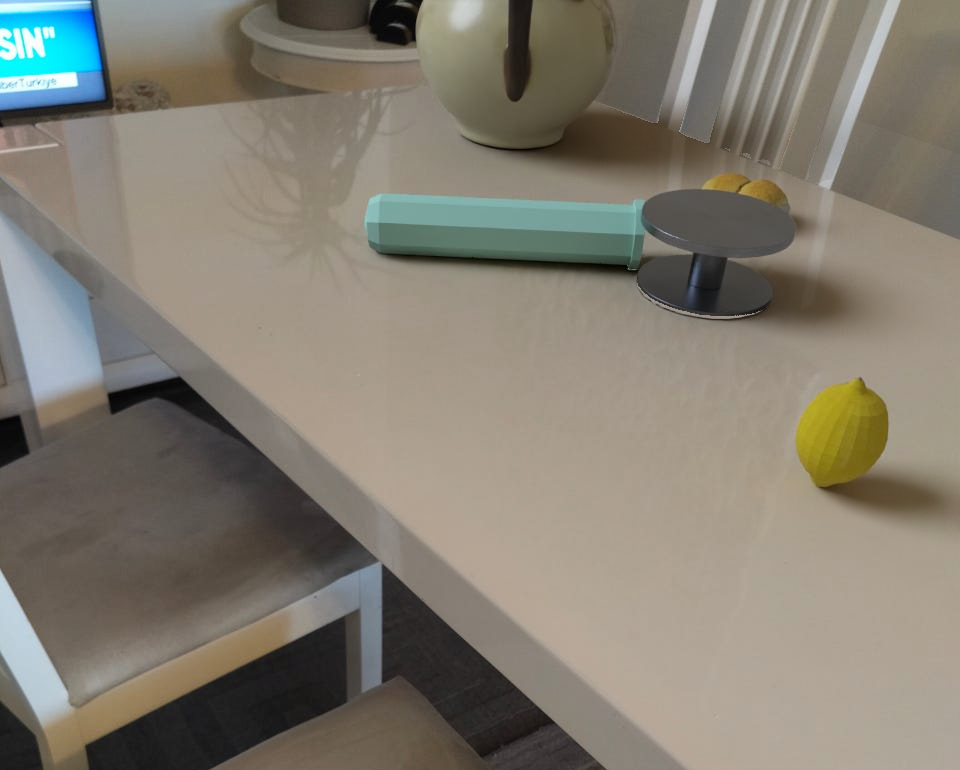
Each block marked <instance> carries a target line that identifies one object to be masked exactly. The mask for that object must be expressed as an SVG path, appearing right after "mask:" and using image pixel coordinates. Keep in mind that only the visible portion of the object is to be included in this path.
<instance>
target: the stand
mask: <svg viewBox="0 0 960 770" xmlns="http://www.w3.org/2000/svg"><path fill="white" fill-rule="evenodd" d="M641 223H642V225H643V227H644V228H645V232H647V233H648V234H650V235H651V236H652V237H654V238H655V239H656V240H659V241H660V242H663V243H664V244H667V245H669V246H671V247H674V248H677V249H680V250H683V251H686V252H691V253H692V254H673V255H666V256H661V257H657V258H654V259H651V260H649V261H647V262H646V263H644V264H643V265H642V266H641V267H640V268H638V270H637V274H636V279H637V283H638V286H639V287H640V288H641V290H642V291H643V292H644V293H645V294H647V295H648V296H649V297H650V298H652V299H654V300H655V301H658V302H659V303H662V304H664V305H667V306H669V307H672V308H675V309H678V310H682V311H687V312H690V313H695V314H699V315H710V316H735V315H736V316H737V315H738V316H739V315H745V314H746V315H747V314H752V313H756V312H758V311H761V310H763V309H764V310H766V309H767V308H768V307H769V305H770V304H771V301H772V300H773V299H772V298H773V294H774V290H773V289H774V288H773V286H772V284H771V283H770V281H769V280H768V279H767V278H766V277H765V276H764V275H762V274H761V273H759V272H758V271H756V270H755V269H753V268H751V267H749V266H747V265H745V264H741V263H739V262H736V261H733V260H729V259H749V258H751V259H752V258H760V257H761V258H762V257H767V256H771V255H775V254H777V253H780V252H782V251H784V250H786V249H787V248H789V247H790V246H791V245H792V243H793V242H794V239H795V235H796V231H797V224H796V222H795V220H794V219H793V217H792V216H791V215H790V213H789V214H788V213H786V212H785V211H783V210H782V209H780V208H779V207H777V206H775V205H773V204H771V203H768V202H766V201H763V200H760V199H757V198H754V197H751V196H747V195H743V194H739V193H734V192H728V191H720V190H710V189H701V188H686V189H676V190H670V191H664V192H661V193H658V194H656V195H653V196H652V197H650V198H648V199H647V200H646V201H644V205H643V207H642V212H641ZM767 306H768V307H767ZM766 307H767V308H766ZM765 308H766V309H765ZM764 310H763V311H764ZM761 312H762V311H761Z"/></svg>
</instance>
